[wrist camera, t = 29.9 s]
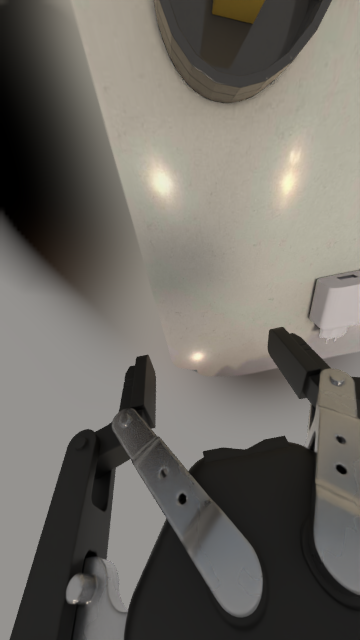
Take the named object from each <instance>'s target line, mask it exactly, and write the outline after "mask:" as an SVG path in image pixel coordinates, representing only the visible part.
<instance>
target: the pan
mask: <svg viewBox="0 0 360 640" xmlns="http://www.w3.org/2000/svg"><path fill="white" fill-rule="evenodd" d="M331 1H332V0H265V1H264V3H263V5H262V7H261V9H260V11H259V13H258V15H257V17H256V19H255V21H254V23H253V24H251V23H247V22H243V21H239V20H235V19H231V18H226V17H222V16H218V15H214V14H212V7H213V0H154V6H155V11H156V16H157V21H158V25H159V28H160V32H161V35H162V39H163V41H164V44H165V47H166V49H167V52H168V54H169V56H170V58H171V60H172V62H173V64H174V66H175V67H176V69H177V70H178V72H179V74H180V75H181V76H182V78H183V79H184V80H185V81H186V82H187V84H188V85H189V86H190V87H192V88H193V89H194V90H195V91H196V92H197V93H199V94H201V95H202V96H204V97H205V98H208V99H210V100H213V101H217V102H222V103H232V102H238V101H242V100H244V99H247V98H250V97H252V96H254V95H255V94H257V93H258V92H260V91H261V90H262V89H264V88H265V87H266V86H267V85H269V84H270V83H271V82H273V81H274V80H275V79H276V78H277V77H278V76H279V75H280V74H281V73H282V72H283V71H284V70H285V69H286V68H287V66H288V65H289V64H290V63H291V62H292V61H293V60H294V59H295V58H296V56H297V55H298V54H299V52H300V51H301V50H302V49H303V47H304V46H305V45H306V44H307V42H308V41H309V40H310V38H311V37H312V36H313V35H314V33H315V32H316V30H317V29H318V27H319V25H320V23H321V21H322V19H323V17H324V15H325V13H326V11H327V9H328V7H329V5H330V3H331Z"/></svg>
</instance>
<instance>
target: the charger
mask: <svg viewBox="0 0 360 640" xmlns="http://www.w3.org/2000/svg"><path fill="white" fill-rule="evenodd" d="M309 319H310V320H311V321H312V322H313V323H315V324H316V325H317V326H318V327H319V328H321V330H320V334H319V337H321V338H326V341H325V343H328V340H329V339H331V338H334V340H333V342H336V339H337V337H342V336H343V335H345V334H346V332H347V329H348V327H350V326H356V325H360V270H358V271H353V272H347V273H342V274H337V275H332V276H327V277H322V278H319V279H318V280H317V283H316V288H315V293H314V297H313V302H312V307H311V312H310V316H309Z"/></svg>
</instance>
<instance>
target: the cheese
mask: <svg viewBox="0 0 360 640" xmlns="http://www.w3.org/2000/svg"><path fill="white" fill-rule="evenodd" d="M264 1H265V0H213V7H212V14H214V15H218V16H222V17H226V18H231V19H235V20H239V21H243V22H247V23H251V24H253V23H254V21H255V19H256V17H257V15H258V13H259V11H260V9H261V7H262V5H263V3H264Z"/></svg>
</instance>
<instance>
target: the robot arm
mask: <svg viewBox="0 0 360 640" xmlns="http://www.w3.org/2000/svg"><path fill="white" fill-rule="evenodd" d="M268 352H269V354H270V356H271V358H272V359H273V361H274V362H275V364H276V365H277V367H278V368H279V370H280V371H281V372H282V374H283V375H284V377H285V378H286V380H287V381H288V383H289V384H290V386H291V387H292V389H293V390H294V392H295V393H296V395H297V396H298V398H299V399H302V398H308V400H309V401H310V403H311V404H310V412H309V422H308V431H307V438H306V442H305V447H304V446H302V445H299V444H295V443H291V442H288V441H287V439H286V437H285V436H281V437H276V438H271V439H265V440H263V441H261V442H259V443H258V444H256V445H254V446H252V447H250V448H248V449H245V450H242V449H232V448H219V449H213V450H208V451H203V455H204V458H202V459H200V460H199V461H197V462H196V463H195V464H194V465H193V466H192V467H191V468H190V470H189V471H187V469H186V468H185V467H184V466H183V465H182V463H181V462H180V461H179V460H178V459H177V457H176V456H175V455H174V454H173V453H172V451H171V450H170V449H169V448H168V447H167V445H166V444H165V443H164V442H163V441H162V439H161V438H160V437H157V436H156V434H155V433H154V432H153V431H152V430H151V428H155V411H156V409H155V408H156V405H155V404H156V376H155V371H154V368H153V365H152V363H151V360H150V358H149V355H144V356H139V357H137V358H136V364H135V366H130V367H129V369H128V371H127V373H126V375H125V382H124V388H123V392H122V398H121V404H120V409H119V413H118V414H117V415H116V416H115V417H114V419H113V421H112V422H111V423H110V424H109V425H107V426H105V427H104V428H102V429H100V430H98V431H96V432H94V431H92V430H89V429H87V430H83V431H81V432H79V433H78V434H76V435H75V436H74V437H73V438H72V440H71V441H70V443H69V445H68V447H67V451H66V454H65V457H64V461H63V464H62V467H61V471H60V474H59V477H58V481H57V484H56V487H55V491H54V494H53V497H52V501H51V504H50V507H49V511H48V514H47V518H46V521H45V524H44V527H43V530H42V534H41V537H40V541H39V544H38V547H37V551H36V554H35V557H34V561H33V564H32V567H31V570H30V574H29V577H28V580H27V584H26V587H25V590H24V594H23V597H22V600H21V604H20V607H19V611H18V614H17V617H16V620H15V624H14V627H13V630H12V634H11V637H10V640H360V377H351V376H349V375H348V374H347V373H345V372H343V371H341V370H338V369H332V368H330V367H329V366H328V365H327V364H326V363H325V362H324V361H323V359H322V358H321V357H320V356H319V355H318V354H317V353H316V352H315V351H314V350H313V349H311V347H310V346H309V345H307V343H306V342H305V341H304V340H303V339H302V338H301V337H299V336H297V335H296V334H294V333H291V334H289V333H288V332H287V331H286V330H285V328H283V327H279V328H275V329H270V330H269V338H268ZM129 459H131V460H132V463H133V465H134V466H135V468H136V470H137V471H138V473H139V475H140V476H141V478H142V479H143V481H144V483H145V484H146V486H147V487H148V489H149V491H150V492H151V494H152V495H153V497H154V499H155V500H156V502H157V503H158V505H159V507H160V508H161V510H162V512H163V513H164V515H165V516H166V521H165V523H164V525H163V527H162V530H161V532H160V534H159V536H158V539H157V541H156V544H155V545H154V548H153V550H152V552H151V555H150V557H149V559H148V562H147V564H146V566H145V568H144V570H143V573H142V575H141V577H140V580H139V582H138V584H137V586H136V589H135V591H134V593H133V596H132V599H131V602H130V605H129V609H127V608H126V607H125V606H124V604H123V603H122V600H121V597H120V594H119V578H118V573H117V569H116V567H115V565H114V564H113V563H112V562H111V561H108V560H106V558H107V549H108V539H109V528H110V519H111V509H112V499H113V490H114V480H115V469H116V467H117V466H119V465H121V464H122V463H124V462H126V461H128V460H129Z"/></svg>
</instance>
